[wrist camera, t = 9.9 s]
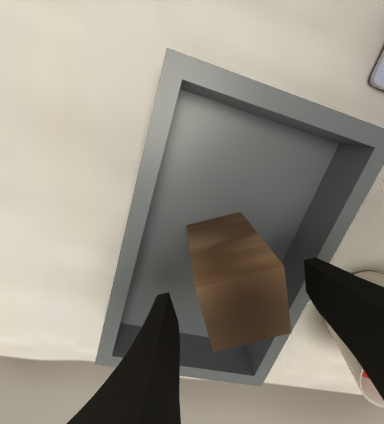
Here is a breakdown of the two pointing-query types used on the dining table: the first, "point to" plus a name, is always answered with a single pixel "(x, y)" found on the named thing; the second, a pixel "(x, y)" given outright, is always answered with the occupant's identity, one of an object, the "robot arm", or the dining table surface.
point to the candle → (351, 361)
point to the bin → (233, 202)
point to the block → (237, 282)
